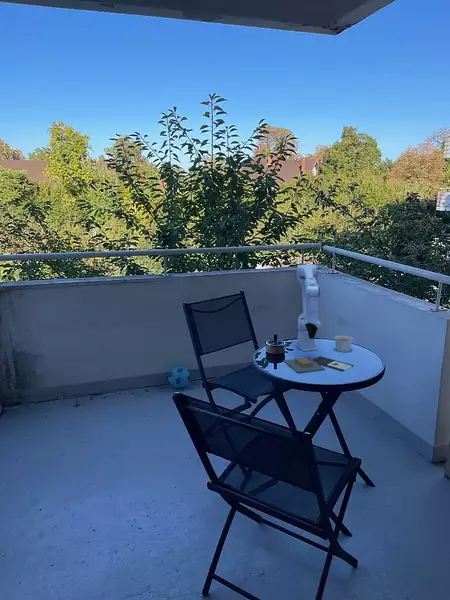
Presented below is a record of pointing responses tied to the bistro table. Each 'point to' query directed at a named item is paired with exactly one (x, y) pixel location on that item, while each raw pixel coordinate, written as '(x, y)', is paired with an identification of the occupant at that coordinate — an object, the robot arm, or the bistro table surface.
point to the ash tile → (303, 362)
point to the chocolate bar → (332, 363)
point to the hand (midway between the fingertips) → (311, 338)
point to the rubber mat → (303, 370)
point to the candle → (343, 343)
